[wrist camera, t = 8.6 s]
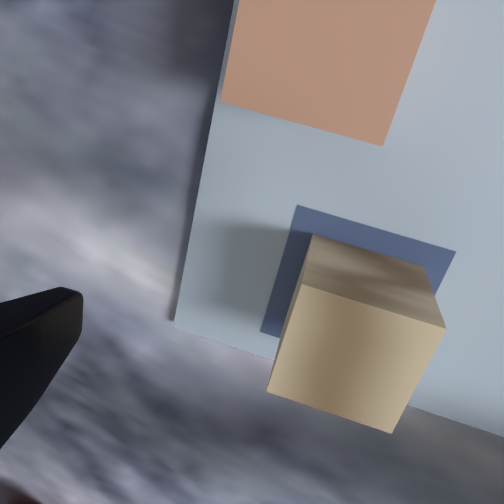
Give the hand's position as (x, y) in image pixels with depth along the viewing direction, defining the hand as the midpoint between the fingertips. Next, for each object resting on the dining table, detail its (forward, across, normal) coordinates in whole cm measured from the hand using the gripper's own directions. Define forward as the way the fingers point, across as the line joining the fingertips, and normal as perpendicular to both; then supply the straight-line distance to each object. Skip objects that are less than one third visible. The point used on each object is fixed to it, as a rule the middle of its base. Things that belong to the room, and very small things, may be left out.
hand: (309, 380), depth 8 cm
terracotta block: (+12, +2, -6) cm, 13 cm away
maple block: (+12, -2, +4) cm, 13 cm away
